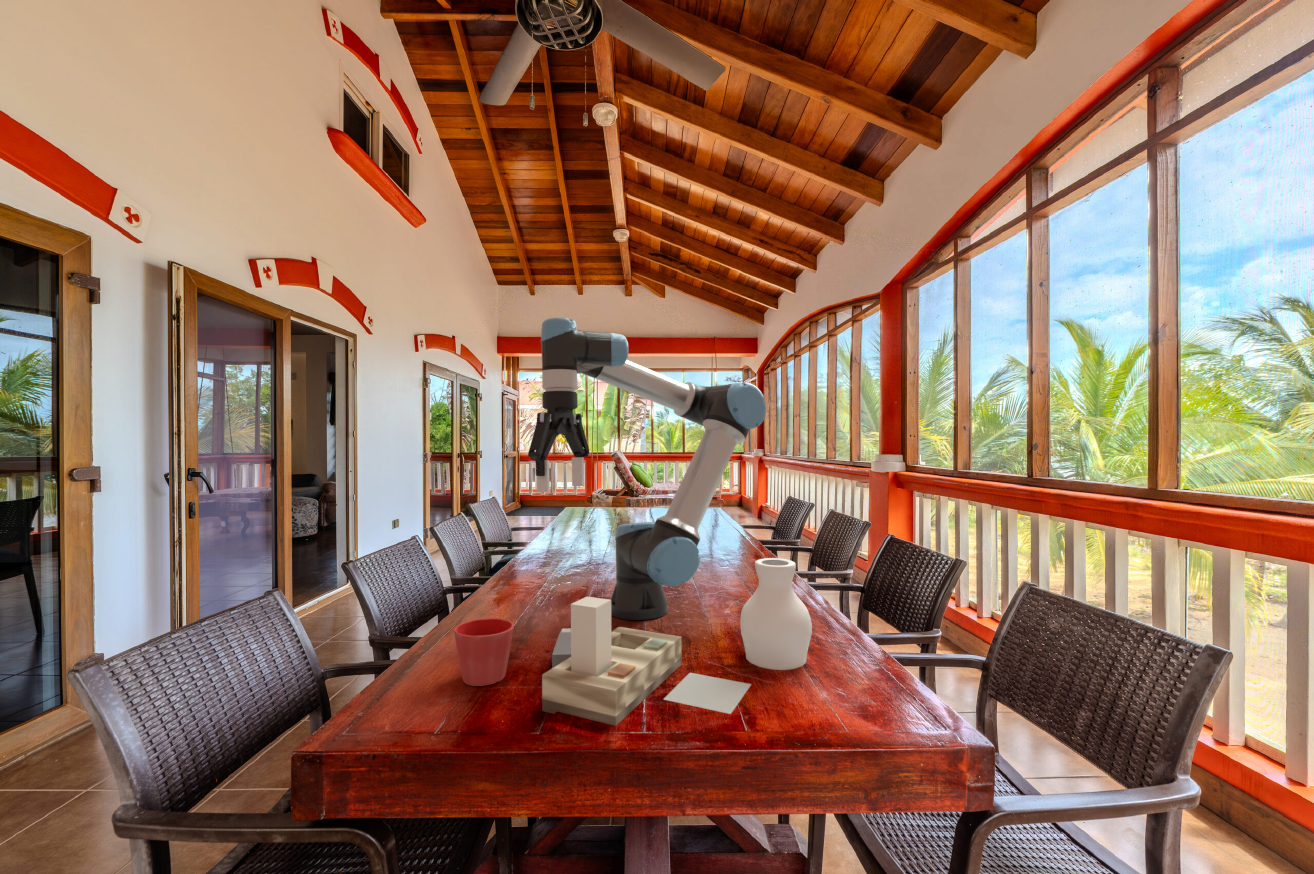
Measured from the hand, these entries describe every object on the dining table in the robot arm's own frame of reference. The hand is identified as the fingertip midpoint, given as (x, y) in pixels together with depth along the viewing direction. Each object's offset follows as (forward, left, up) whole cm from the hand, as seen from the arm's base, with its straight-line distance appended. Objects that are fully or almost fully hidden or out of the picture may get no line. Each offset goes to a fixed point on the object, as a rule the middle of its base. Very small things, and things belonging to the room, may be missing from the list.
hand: (561, 489), depth 122 cm
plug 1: (+7, +7, -34) cm, 36 cm away
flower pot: (+19, -4, -34) cm, 40 cm away
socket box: (+12, +21, -34) cm, 42 cm away
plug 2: (+19, +19, -32) cm, 42 cm away
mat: (+8, +37, -34) cm, 51 cm away
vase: (-12, +44, -34) cm, 57 cm away
